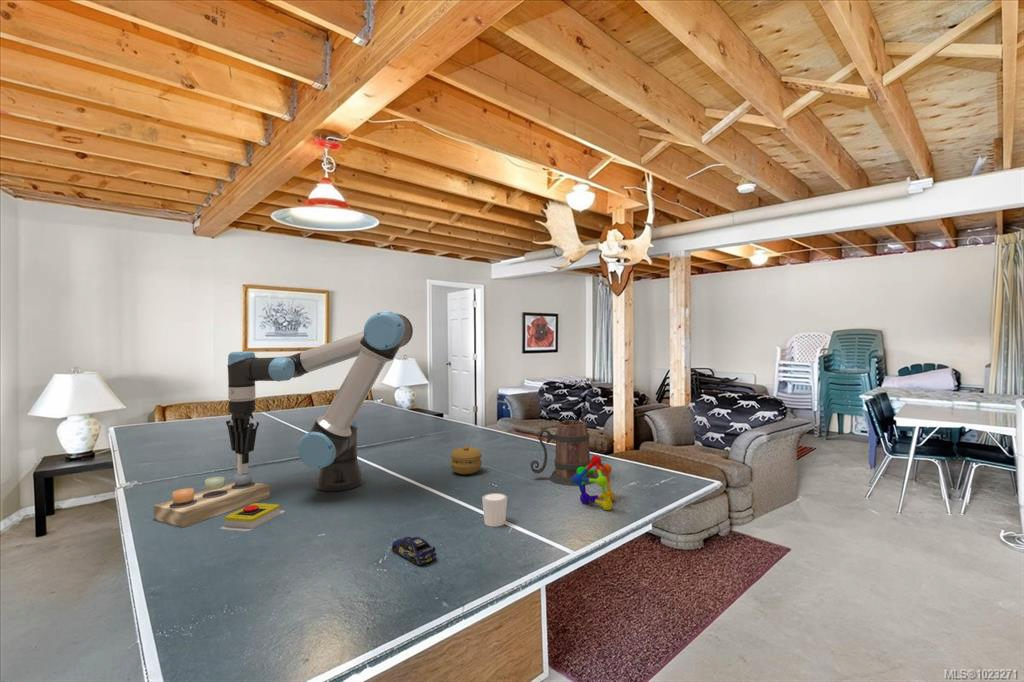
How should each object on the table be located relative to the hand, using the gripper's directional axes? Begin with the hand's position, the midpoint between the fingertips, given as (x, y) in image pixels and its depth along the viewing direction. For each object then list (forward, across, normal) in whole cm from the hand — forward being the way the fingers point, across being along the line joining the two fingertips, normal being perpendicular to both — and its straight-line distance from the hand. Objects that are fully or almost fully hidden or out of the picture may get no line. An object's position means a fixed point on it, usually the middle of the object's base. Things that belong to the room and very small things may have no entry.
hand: (242, 473), depth 150 cm
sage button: (+2, 0, -9) cm, 9 cm away
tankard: (+8, +87, +60) cm, 106 cm away
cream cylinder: (+8, +83, +15) cm, 85 cm away
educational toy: (+8, +104, +39) cm, 111 cm away
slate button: (+3, 0, 0) cm, 3 cm away
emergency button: (+9, +20, -10) cm, 24 cm away
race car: (+9, +74, -10) cm, 75 cm away
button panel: (+8, 0, -9) cm, 12 cm away
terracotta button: (+3, 0, -18) cm, 18 cm away
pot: (+8, +51, +53) cm, 74 cm away
